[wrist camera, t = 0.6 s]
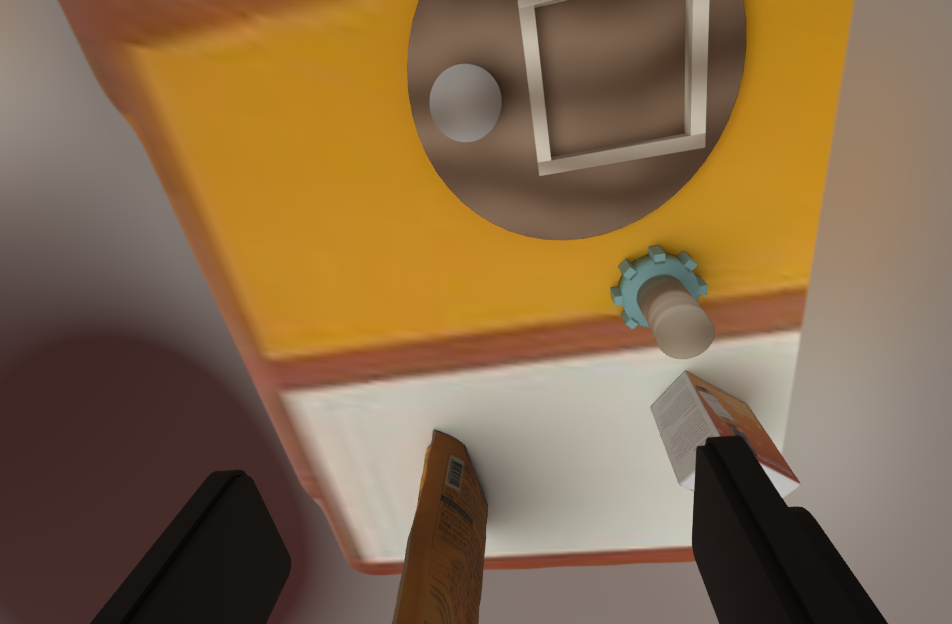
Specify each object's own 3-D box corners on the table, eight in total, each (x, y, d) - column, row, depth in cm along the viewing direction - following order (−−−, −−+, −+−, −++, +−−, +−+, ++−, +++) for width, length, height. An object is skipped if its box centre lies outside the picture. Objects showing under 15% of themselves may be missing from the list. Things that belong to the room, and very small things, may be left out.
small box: (748, 403, 47) (805, 485, 37) (709, 439, 49) (753, 524, 40) (684, 368, 46) (726, 443, 36) (647, 406, 48) (678, 486, 39)
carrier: (374, -75, 32) (353, -96, 28) (748, -177, 28) (786, -220, 24) (447, 253, 42) (439, 271, 38) (728, 211, 38) (752, 226, 34)
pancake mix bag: (468, 412, 50) (416, 740, 25) (512, 530, 58) (506, 869, 33) (410, 422, 52) (308, 744, 27) (461, 536, 60) (419, 867, 35)
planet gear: (608, 252, 41) (629, 295, 33) (700, 239, 40) (745, 280, 32) (613, 328, 44) (633, 384, 36) (698, 318, 43) (739, 373, 35)
